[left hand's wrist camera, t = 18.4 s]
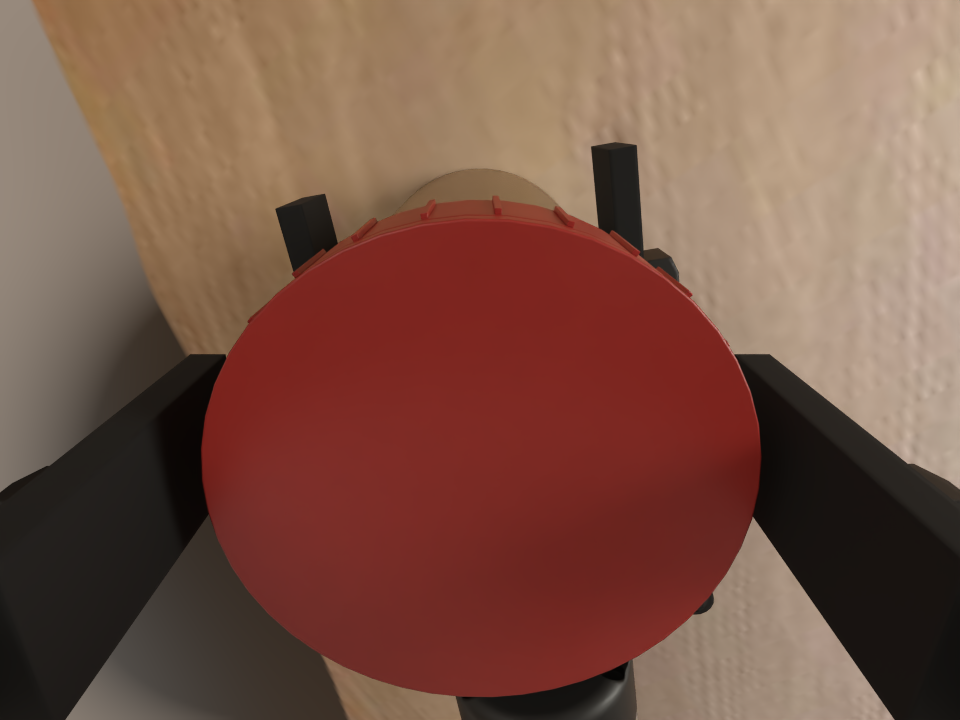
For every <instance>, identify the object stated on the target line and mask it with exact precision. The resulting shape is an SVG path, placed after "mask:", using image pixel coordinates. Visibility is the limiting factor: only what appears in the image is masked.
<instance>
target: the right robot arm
mask: <svg viewBox="0 0 960 720" xmlns="http://www.w3.org/2000/svg"><path fill="white" fill-rule="evenodd" d="M591 151H592V161H593V172H594V183H595V194H596V205H597V216H598V226H599V229H601V230H603V231H605V232H606V233H608V234H610V232H611V231H614V232H616V233H617V234H618V235H620V236H621V237H622V238H623V239H625V240H626V241H627V242H628V243H630V244H631V245H632V246H634V247H635V248H636V249H637V250H639V251H640V253H639V256H641V257H642V258H643V259H644V260H646V261H647V262H648V263H649V264H650V265H652V266H653V267H654V268H655V269H656V268H657V267H658V266H659V267H660V268H661V269H663V270H664V271H665V272H666V273H668V274H669V275H670V276H671V277H673V278H674V279H675V280H676V281H678V282H679V272H678V270H677V268H676V266H675V264H674V262H673V260H672V258H671V257H670V256H669V255H667V254H666V253H664V252H663V251H661V250H660V249H659V248H656V249H650V250H644V251H643V236H642V220H641V205H640V190H639V174H638V159H637V145H632V144H624V143H617V142H614V143H608V144H603V145H597V146H591ZM275 210H276V213H277V216H278V220H279V223H280V227H281V230H282V234H283V237H284V241H285V244H286V247H287V251H288V254H289V258H290V261H291V265H292V268H293V271H296V270H297V269H298V268H299V267H301V266H302V265H303V264H305V263H306V262H307V261H308V260H310V259H311V258H312V257H313V256H315V255H316V254H317V253H318V252H320V251H321V250H322V249H324V250H325V251H326V253H327V252H328V251H329V250H331V249H332V248H333V247H334V246H336V245H337V244H338V242H337V238H336V234H335V231H334V227H333V223H332V219H331V215H330V211H329V207H328V204H327V200H326V196H325V194H321V195H315V196H310V197H304V198H301V199H298V200H296V201H293V202H291V203H289V204H286V205H284V206H281V207H279V208H276V209H275ZM713 603H714V597H713V593H712V594H711V595H710V596H709V598H708V599H707V600H706V601H705V602H704V603H703V604H702V605H701V606H700V607H699V608H698V609H697V610H696V611H695V612H694V613H693V614H702V613H704V612H706V611H708V610H709V609H710V608H711V607H712V605H713ZM456 700H457V703H458V707H459V711H460V715H461V719H462V720H638V716H637V704H636V692H635V681H634V671H633V661H632V659H631V660H629V661H627V662H626V663H624V664H622V665H620V666H618V667H616V668H614V669H612V670H609V671H607V672H604V673H602V674H599V675H597V676H594V677H591V678H589V679H586V680H584V681H581V682H577V683H573V684H570V685H566V686H563V687H559V688H555V689H551V690H545V691H540V692H534V693H529V694H523V695H511V696H499V697H460V696H456Z"/></svg>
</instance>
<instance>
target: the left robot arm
mask: <svg viewBox="0 0 960 720" xmlns="http://www.w3.org/2000/svg"><path fill="white" fill-rule="evenodd" d="M735 357H736V359H737V360H738V363H739V365H740V368H741V370H742V372H743V375H744V377H745V379H746V382H747V384H748V386H749V389H750V391H751V395H752V399H753V403H754V407H755V411H756V415H757V419H758V423H759V434H760V446H761V469H760V483H759V491H758V495H757V500H756V504H755V509H754V513H753V517H754V519H755V520H756V521H757V523H758V524H759V526H760V527H761V529H762V530H763V532H764V533H765V534H766V536H767V537H768V539H769V540H770V542H771V543H772V544H773V546H774V547H775V549H776V550H777V552H778V553H779V554H780V556H781V557H782V559H783V560H784V562H785V563H786V565H787V566H788V567H789V569H790V570H791V572H792V573H793V575H794V576H795V577H796V579H797V580H798V582H799V583H800V585H801V586H802V587H803V589H804V590H805V592H806V593H807V595H808V596H809V597H810V599H811V600H812V602H813V603H814V605H815V606H816V608H817V609H818V610H819V612H820V613H821V615H822V616H823V618H824V619H825V620H826V622H827V623H828V625H829V626H830V628H831V629H832V630H833V632H834V633H835V635H836V636H837V638H838V639H839V641H840V642H841V643H842V645H843V646H844V648H845V649H846V651H847V652H848V653H849V655H850V656H851V658H852V659H853V661H854V662H855V663H856V665H857V666H858V668H859V669H860V671H861V672H862V674H863V675H864V676H865V678H866V679H867V681H868V682H869V684H870V685H871V686H872V688H873V689H874V691H875V692H876V694H877V695H878V696H879V698H880V699H881V701H882V702H883V704H884V705H885V707H886V708H887V709H888V711H889V712H890V714H891V715H892V717H893V718H894V719H895V720H960V489H958V488H957V487H956V486H954V485H953V484H952V483H950V482H949V481H947V480H945V479H943V478H941V477H939V476H937V475H935V474H933V473H931V472H929V471H927V470H925V469H923V468H921V467H919V466H917V465H915V464H907V463H906V462H905V461H903V460H902V459H901V458H900V457H898V456H897V455H896V454H895V453H893V452H892V451H891V450H890V449H888V448H887V447H886V446H884V445H883V444H882V443H881V442H879V441H878V440H877V439H876V438H874V437H873V436H872V435H871V434H869V433H868V432H867V431H866V430H864V429H863V428H862V427H861V426H859V425H858V424H857V423H855V422H854V421H853V420H852V419H850V418H849V417H848V416H847V415H845V414H844V413H843V412H842V411H840V410H839V409H838V408H837V407H835V406H834V405H833V404H831V403H830V402H829V401H828V400H826V399H825V398H824V397H823V396H821V395H820V394H819V393H818V392H816V391H815V390H814V389H813V388H811V387H810V386H809V385H808V384H806V383H805V382H804V381H802V380H801V379H800V378H799V377H797V376H796V375H795V374H794V373H792V372H791V371H790V370H789V369H787V368H786V367H785V366H784V365H782V364H781V363H780V362H779V361H777V360H776V359H775V358H773V357H772V356H771V355H770V354H735ZM225 361H226V355H225V354H190V355H189V356H188V357H187V358H185V359H184V360H183V361H181V362H180V363H179V364H178V365H176V366H175V367H174V368H173V369H171V370H170V371H169V372H168V373H166V374H165V375H164V376H163V377H161V378H160V379H159V380H158V381H156V382H155V383H154V384H152V385H151V386H150V387H149V388H147V389H146V390H145V391H144V392H142V393H141V394H140V395H139V396H137V397H136V398H135V399H134V400H132V401H131V402H130V403H129V404H127V405H126V406H125V407H123V408H122V409H121V410H120V411H118V412H117V413H116V414H115V415H113V416H112V417H111V418H110V419H108V420H107V421H106V422H105V423H103V424H102V425H101V426H100V427H98V428H97V429H96V430H94V431H93V432H92V433H91V434H89V435H88V436H87V437H86V438H84V439H83V440H82V441H81V442H79V443H78V444H77V445H76V446H74V447H73V448H72V449H71V450H69V451H68V452H67V453H65V454H64V455H63V456H62V457H60V458H59V459H58V460H57V461H55V462H54V463H53V464H52V465H50V466H46V467H44V468H42V469H40V470H38V471H36V472H34V473H32V474H30V475H28V476H26V477H24V478H22V479H20V480H18V481H16V482H14V483H12V484H11V485H9V486H8V487H7V488H5V489H4V490H3V491H1V492H0V720H65V719H66V718H67V716H68V715H69V714H70V712H71V711H72V709H73V708H74V707H75V705H76V704H77V702H78V701H79V699H80V698H81V696H82V695H83V694H84V692H85V691H86V689H87V688H88V686H89V685H90V684H91V682H92V681H93V679H94V678H95V676H96V675H97V674H98V672H99V671H100V669H101V668H102V666H103V665H104V663H105V662H106V661H107V659H108V658H109V656H110V655H111V653H112V652H113V651H114V649H115V648H116V646H117V645H118V643H119V642H120V641H121V639H122V638H123V636H124V635H125V633H126V632H127V630H128V629H129V628H130V626H131V625H132V623H133V622H134V620H135V619H136V618H137V616H138V615H139V613H140V612H141V610H142V609H143V607H144V606H145V605H146V603H147V602H148V600H149V599H150V597H151V596H152V595H153V593H154V592H155V590H156V589H157V587H158V586H159V585H160V583H161V582H162V580H163V579H164V577H165V576H166V575H167V573H168V572H169V570H170V569H171V567H172V566H173V564H174V563H175V562H176V560H177V559H178V557H179V556H180V554H181V553H182V552H183V550H184V549H185V547H186V546H187V544H188V543H189V542H190V540H191V539H192V537H193V536H194V534H195V533H196V531H197V530H198V529H199V527H200V526H201V524H202V523H203V521H204V520H205V519H206V517H207V516H208V514H209V513H208V509H207V504H206V498H205V493H204V488H203V482H202V459H201V446H202V438H203V430H204V422H205V415H206V411H207V408H208V405H209V401H210V398H211V394H212V391H213V387H214V384H215V382H216V380H217V377H218V375H219V373H220V371H221V369H222V367H223V365H224V363H225Z"/></svg>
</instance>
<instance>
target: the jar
mask: <svg viewBox="0 0 960 720" xmlns="http://www.w3.org/2000/svg"><path fill="white" fill-rule="evenodd" d="M493 195H494V196H499V200H503V201H510V202H516V203H523V204H530V205H536V206H540V207H544V208H547V209H550V210H554V208H555V206H558V207H560V206H559V205H558V204H557V203H556V202H555V201H554V200H553V199H552V198H551V197H550V196H549V195H548V194H547V193H545V192H544V191H543V190H542V189H540V188H539V187H538V186H536V185H534V184H533V183H531V182H529V181H528V180H526V179H524V178H521V177H519V176H517V175H514V174H511V173H507V172H503V171H499V170H491V169H469V170H462V171H457V172H454V173H450V174H447V175H444V176H442V177H440V178H437V179H435V180H433V181H431V182H430V183H428V184H426V185H425V186H423V187H422V188H420V189H419V190H418V191H417V192H416V193H414V194H413V195H412V196H411V197H410V198H409V199H408V200H407V201H406V202H405V203H404V204H403V205H402V206H401V207H400V208H399V209H398V210H397V211H396V212H395V213H394V214H393V215H395V214H398V213H400V212H404V211H408V210H412V209H416V208H420V207H423V206H426V205H427V203H428V202H429V200H433V199H435V201H436V204H437V203H446V202H454V201H462V200H492V196H493ZM566 214H567V213H566ZM393 215H392V216H393ZM567 215H568V214H567Z"/></svg>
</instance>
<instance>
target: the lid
mask: <svg viewBox="0 0 960 720" xmlns="http://www.w3.org/2000/svg"><path fill="white" fill-rule="evenodd" d="M639 253H640V251H639V250H637V249H636V248H635V247H634V246H632V245H631V244H630V243H628V242H627V241H626V240H625V239H623V238H622V237H621V236H620V235H618V234H617V233H616V232H614V231H611V232H610V234H608V233H606V232H605V231H603V230H601V229H599V228H597V227H595V226H593V225H590V224H588V223H586V222H584V221H582V220H579V219H577V218H575V217H573V216H571V215H567V214H566V212H565V211H564V210H563V209H562V208H561V207H558V206H555V208H554V210H550V209H547V208H544V207H540V206H536V205H530V204H523V203H516V202H510V201H503V200H499V196H494V195H493V196H492V200H462V201H454V202H446V203H437V204H436V201H435V199H433V200H429V202H428V203H427V205H426V206H423V207H420V208H416V209H412V210H408V211H404V212H400V213H398V214H395V215H393V216H390V217H388V218H385V219H383V220H381V221H378V222H377V220H376V218H373V219H371V220H369V221H368V222H367V223H366V224H365V225H363V226H362V227H361V228H360V229H359V230H358V231H357V232H355V233H354V234H353V235H351V236H350V237H348V238H346V239H345V240H343V241H341V242H339V243H338V244H337V245H336V246H334V247H333V248H332V249H331V250H329V251H328V252H327V253H326V251H325V250H324V249H322V250H321V251H320V252H318V253H317V254H316V255H315V256H313V257H312V258H311V259H310V260H308V261H307V262H306V263H305V264H303V265H302V266H301V267H299V268H298V269H297V270H296V271H294V272H293V273H292V275H293V276H294V277H295V279H294V280H293V281H291V282H290V283H289V284H288V285H287V286H285V287H284V288H283V289H282V290H281V291H279V292H278V293H277V294H276V295H275V296H274V297H273V298H272V299H271V300H270V301H269V302H268V303H267V304H266V305H265V306H263V307H262V308H261V309H260V310H259V311H258V312H256V313H255V314H254V315H253V316H252V317H250V319H249V320H248V323H249V324H248V326H247V327H246V329H245V330H244V332H243V333H242V334H241V336H240V337H239V339H238V340H237V342H236V343H235V345H234V346H233V348H232V349H231V351H230V352H229V354H228V356H227V358H226V361H225V363H224V365H223V367H222V369H221V371H220V373H219V375H218V377H217V380H216V382H215V384H214V387H213V391H212V394H211V398H210V401H209V405H208V408H207V411H206V415H205V422H204V430H203V438H202V446H201V459H202V482H203V488H204V493H205V498H206V504H207V509H208V513H209V516H210V519H211V522H212V524H213V527H214V530H215V533H216V536H217V539H218V541H219V543H220V545H221V547H222V549H223V551H224V553H225V555H226V557H227V559H228V561H229V563H230V565H231V567H232V568H233V570H234V571H235V573H236V574H237V576H238V577H239V578H240V580H241V581H242V583H243V584H244V586H245V587H246V589H247V590H248V591H249V593H250V594H251V595H252V596H253V597H254V598H255V599H256V600H257V602H258V603H259V604H260V605H261V606H262V607H263V608H264V609H265V611H266V612H267V613H268V614H269V615H270V616H271V617H272V618H274V619H275V620H276V621H277V622H278V623H279V624H280V625H282V626H283V627H284V628H285V629H286V630H287V631H288V632H290V633H291V634H292V635H293V636H295V637H296V638H298V639H299V640H300V641H302V642H303V643H305V644H306V645H308V646H309V647H311V648H312V649H313V650H315V651H316V652H318V653H320V654H322V655H323V656H325V657H327V658H329V659H331V660H333V661H334V662H336V663H338V664H340V665H342V666H344V667H346V668H348V669H351V670H353V671H356V672H358V673H360V674H363V675H365V676H367V677H370V678H372V679H376V680H379V681H382V682H385V683H389V684H392V685H395V686H398V687H402V688H407V689H412V690H417V691H422V692H427V693H432V694H441V695H451V696H460V697H499V696H511V695H523V694H529V693H534V692H540V691H545V690H551V689H555V688H559V687H563V686H566V685H570V684H573V683H577V682H581V681H584V680H586V679H589V678H591V677H594V676H597V675H599V674H602V673H604V672H607V671H609V670H612V669H614V668H616V667H618V666H620V665H622V664H624V663H626V662H627V661H629V660H631V659H633V658H635V657H637V656H639V655H641V654H642V653H644V652H645V651H647V650H648V649H650V648H651V647H653V646H654V645H656V644H657V643H659V642H660V641H662V640H664V639H665V638H666V637H667V636H668V635H670V634H671V633H672V632H673V631H675V630H676V629H677V628H678V627H679V626H681V625H682V624H683V623H684V622H685V621H687V620H688V619H689V618H690V617H691V616H692V615H693V613H694V612H695V611H696V610H697V609H698V608H699V607H700V606H701V605H702V604H703V603H704V602H705V601H706V600H707V599H708V598H709V596H710V595H711V594H712V592H713V591H714V590H715V588H716V587H717V586H718V584H719V583H720V582H721V580H722V579H723V578H724V576H725V575H726V573H727V572H728V570H729V568H730V566H731V564H732V563H733V561H734V559H735V557H736V555H737V554H738V552H739V550H740V548H741V546H742V544H743V541H744V538H745V536H746V533H747V531H748V528H749V526H750V523H751V520H752V517H753V513H754V509H755V504H756V500H757V495H758V491H759V483H760V469H761V446H760V434H759V423H758V419H757V415H756V411H755V407H754V403H753V399H752V395H751V391H750V389H749V386H748V384H747V382H746V379H745V377H744V375H743V372H742V370H741V368H740V365H739V363H738V360H737V359H736V357H735V355H734V354H733V352H732V351H731V349H730V347H729V346H730V345H729V344H728V342H727V341H726V340H725V339H724V338H723V336H722V335H721V333H720V331H719V330H718V329H717V327H716V326H715V325H714V324H713V323H712V322H711V320H710V319H709V318H708V317H707V316H706V315H705V314H704V312H703V311H702V310H701V309H700V308H699V307H698V305H697V304H696V303H695V302H694V301H693V300H692V299H691V298H690V297H691V296H692V295H693V294H692V293H691V292H690V291H689V290H688V289H687V288H685V287H684V286H683V285H681V284H680V283H679V282H678V281H676V280H675V279H674V278H673V277H671V276H670V275H669V274H668V273H666V272H665V271H664V270H663V269H661V268H660V267H659V266H658V267H657V268H656V269H655V268H654V267H653V266H652V265H650V264H649V263H648V262H647V261H646V260H644V259H643V258H642V257H641V256H639Z"/></svg>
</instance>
